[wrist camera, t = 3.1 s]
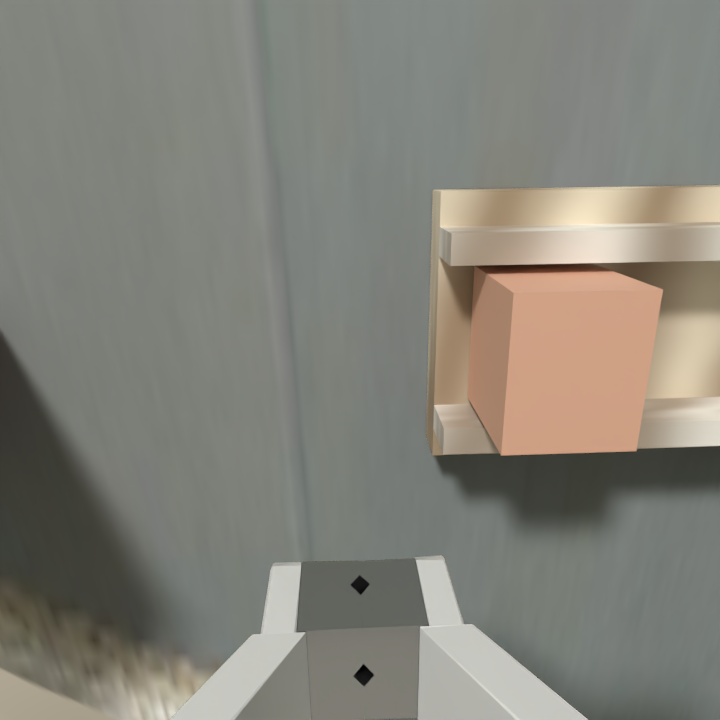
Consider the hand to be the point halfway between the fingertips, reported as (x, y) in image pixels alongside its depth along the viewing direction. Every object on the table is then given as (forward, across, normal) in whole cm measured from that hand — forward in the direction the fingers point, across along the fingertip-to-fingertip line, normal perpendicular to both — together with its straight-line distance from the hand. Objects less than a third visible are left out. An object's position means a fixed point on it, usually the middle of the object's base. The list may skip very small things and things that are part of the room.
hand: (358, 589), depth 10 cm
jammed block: (+15, -8, 0) cm, 17 cm away
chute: (+17, -13, 0) cm, 22 cm away
